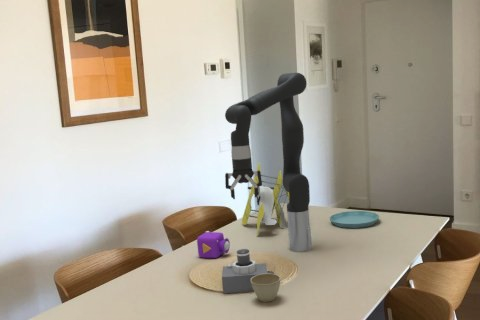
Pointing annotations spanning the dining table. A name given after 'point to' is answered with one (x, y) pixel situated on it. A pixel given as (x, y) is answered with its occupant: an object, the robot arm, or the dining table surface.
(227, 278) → the camera body
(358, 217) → the saucer
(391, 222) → the dining table surface
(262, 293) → the flower pot
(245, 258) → the lens
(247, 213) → the biplane
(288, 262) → the dining table surface
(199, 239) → the toy camera
